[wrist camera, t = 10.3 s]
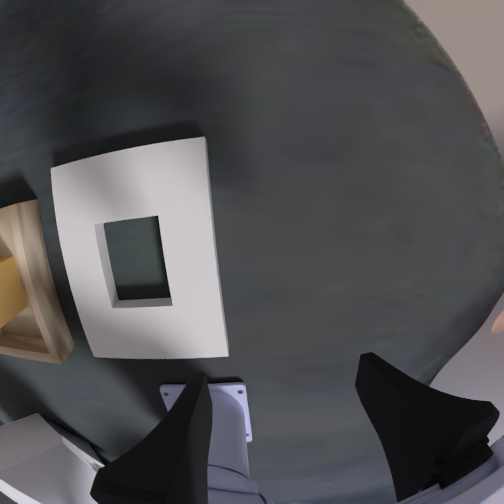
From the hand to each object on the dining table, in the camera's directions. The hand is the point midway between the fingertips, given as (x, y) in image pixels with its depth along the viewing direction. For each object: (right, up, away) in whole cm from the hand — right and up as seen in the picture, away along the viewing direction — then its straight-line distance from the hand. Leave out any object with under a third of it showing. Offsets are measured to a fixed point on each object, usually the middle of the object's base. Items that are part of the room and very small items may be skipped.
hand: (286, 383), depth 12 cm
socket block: (-10, +5, +8) cm, 14 cm away
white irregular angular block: (-29, -20, +14) cm, 38 cm away
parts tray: (-25, +3, +8) cm, 26 cm away
